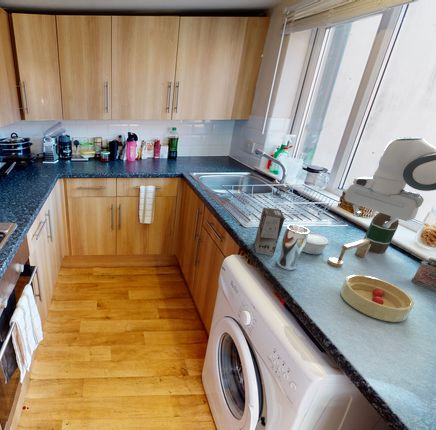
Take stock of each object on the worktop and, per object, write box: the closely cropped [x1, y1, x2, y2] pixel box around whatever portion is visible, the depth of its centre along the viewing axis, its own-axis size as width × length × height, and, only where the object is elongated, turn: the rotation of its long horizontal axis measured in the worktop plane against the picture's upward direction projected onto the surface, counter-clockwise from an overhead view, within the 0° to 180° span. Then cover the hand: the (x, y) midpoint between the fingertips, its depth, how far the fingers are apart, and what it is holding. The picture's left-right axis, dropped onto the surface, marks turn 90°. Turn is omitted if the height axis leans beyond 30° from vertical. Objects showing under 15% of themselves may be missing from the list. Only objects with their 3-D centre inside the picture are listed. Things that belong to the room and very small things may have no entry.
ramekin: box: [302, 231, 330, 255], centre depth 114 cm, size 11×11×5 cm
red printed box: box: [410, 257, 436, 291], centre depth 93 cm, size 8×3×10 cm, turn 47°
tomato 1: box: [372, 289, 384, 298], centre depth 88 cm, size 3×3×3 cm
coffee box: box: [254, 207, 286, 257], centre depth 110 cm, size 9×6×16 cm
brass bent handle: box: [327, 238, 371, 268], centre depth 107 cm, size 19×4×7 cm, turn 113°
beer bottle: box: [363, 212, 400, 254], centre depth 111 cm, size 8×8×24 cm
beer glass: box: [276, 224, 310, 271], centre depth 101 cm, size 7×7×15 cm
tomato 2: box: [372, 297, 384, 305], centre depth 84 cm, size 3×3×3 cm
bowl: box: [340, 274, 415, 323], centre depth 85 cm, size 15×15×5 cm
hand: (370, 221), depth 104 cm, fingers open, 8 cm apart
